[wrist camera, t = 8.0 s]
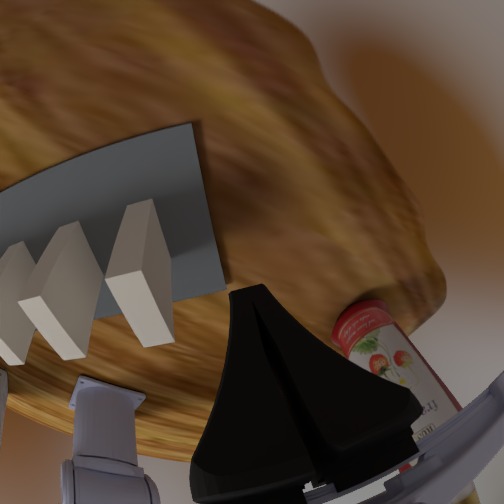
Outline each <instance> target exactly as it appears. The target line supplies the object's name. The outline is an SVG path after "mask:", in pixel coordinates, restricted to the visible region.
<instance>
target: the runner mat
mask: <svg viewBox="0 0 504 504" xmlns="http://www.w3.org/2000/svg"><path fill="white" fill-rule="evenodd" d="M148 199H153V203H154V206H155V210H156V213H157V216H158V220H159V223H160V226H161V229H162V233H163V236H164V239H165V242H166V245H167V248H168V251H169V254H170V257H171V282H172V302H176V301H181V300H185V299H189V298H193V297H197V296H202V295H206V294H210V293H214V292H218V291H222V290H226V289H227V288H226V284H225V280H224V275H223V271H222V267H221V263H220V258H219V254H218V249H217V245H216V241H215V236H214V232H213V227H212V223H211V218H210V213H209V209H208V204H207V199H206V195H205V190H204V185H203V180H202V175H201V170H200V165H199V160H198V155H197V150H196V145H195V140H194V134H193V129H192V124H191V122H190V123H185V124H181V125H177V126H172V127H168V128H164V129H160V130H157V131H153V132H149V133H146V134H142V135H139V136H135V137H132V138H129V139H125V140H122V141H119V142H116V143H113V144H110V145H107V146H104V147H101V148H98V149H95V150H93V151H90V152H87V153H85V154H82V155H79V156H77V157H74V158H72V159H69V160H67V161H64V162H62V163H59V164H57V165H55V166H52V167H50V168H48V169H46V170H43V171H41V172H39V173H37V174H35V175H33V176H30V177H28V178H26V179H24V180H22V181H20V182H18V183H16V184H14V185H12V186H11V187H9V188H7V189H5V190H3V191H1V192H0V259H1V257H2V256H3V254H4V253H5V252H6V250H7V249H8V247H9V246H11V245H14V244H16V243H19V242H21V241H24V243H25V245H26V247H27V249H28V251H29V253H30V255H31V256H32V258H33V260H34V262H35V264H37V263H38V261H39V259H40V257H41V256H42V254H43V252H44V251H45V249H46V247H47V246H48V244H49V242H50V241H51V239H52V237H53V236H54V234H55V233H56V231H57V230H58V228H59V227H61V226H64V225H67V224H70V223H73V222H76V221H79V223H80V225H81V228H82V230H83V232H84V235H85V237H86V239H87V241H88V244H89V246H90V248H91V250H92V252H93V254H94V256H95V259H96V261H97V263H98V265H99V267H100V269H101V271H102V273H103V275H104V277H103V280H102V284H101V288H100V292H99V296H98V300H97V305H96V309H95V314H94V318H93V320H94V319H99V318H104V317H108V316H113V315H118V314H123V312H122V310H121V309H120V307H119V305H118V303H117V302H116V300H115V298H114V296H113V294H112V292H111V290H110V289H109V287H108V285H107V283H106V281H105V276H106V272H107V268H108V264H109V261H110V257H111V254H112V250H113V247H114V244H115V241H116V237H117V234H118V231H119V228H120V225H121V222H122V219H123V216H124V213H125V210H126V208H127V205H130V204H134V203H137V202H141V201H145V200H148ZM37 330H38V329H37V328H35V331H37Z"/></svg>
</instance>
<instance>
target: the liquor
mask: <svg viewBox="0 0 504 504" xmlns="http://www.w3.org/2000/svg"><path fill="white" fill-rule="evenodd" d="M331 339H332V342H333V343H334V344H335V345H337V346H339V347H341V349H342V351H343V353H344V354H345V356H346V358H347V359H348V360H350V361H352V362H353V363H355V364H357V365H359V366H360V367H362V368H364V369H366V370H368V371H370V372H372V373H374V374H376V375H378V376H380V377H382V378H384V379H387V380H389V381H391V382H394V383H396V384H399V385H401V386H404V387H407V388H409V389H410V390H411V392H412V393H413V394H414V395H415V396H416V398H417V399H418V400H419V402H420V404H421V405H422V407H423V409H424V410H423V413H422V415H421V416H420V417H419V418H418V419H417V420H416V421H415V422H414V423H413V424H412V425H411V428H412V430H413V431H414V434H413V435H412V437H413V439H414V441H415V442H416V441H418V440H419V439H421V438H423V437H424V436H426V435H427V434H429V433H430V432H432V431H433V430H435V429H436V428H438V427H439V426H440V425H442V424H443V423H445V422H446V421H447V420H449V419H450V418H452V417H453V416H454V415H455V414H457V413H458V412H459V411H461V410H462V409H463V408H462V407H461V406H460V404H459V403H458V401H457V400H456V398H455V397H454V396H453V394H452V393H451V392H450V391H449V389H448V388H447V387H446V385H445V384H444V383H443V382H442V380H441V379H440V378H439V376H438V375H437V374H436V373H435V371H434V370H433V369H432V368H431V367H430V365H429V364H428V363H427V362H426V360H425V359H424V357H423V356H422V355H421V354H420V352H419V351H418V350H417V349H416V347H415V346H414V345H413V343H412V342H411V341H410V340H409V338H408V337H407V336H406V335H405V333H404V332H403V331H402V329H401V328H400V327H399V326H398V324H397V323H396V322H395V321H394V319H393V318H392V317H391V316H390V314H389V313H388V305H387V303H386V302H385V301H383V300H379V299H376V300H364V301H359V302H356V303H354V304H352V305H351V306H349V307H348V308H346V309H345V310H344V311H343V312H342V313H341V315H340V316H339V318H338V319H337V322H336V324H335V327H334V329H333V332H332V336H331ZM418 458H419V457H418ZM418 458H416V459H414V460H413V461H411V462H409V463H408V464H406V465H404V466H403V467H401V468H399V472H400V473H401V472H403V471H405V470H407V469H409V468H410V467H412V466H414V465H416V464H417V461H418ZM450 503H451V504H480V501H479V498H478V494H477V491H476V489H475V485H474V482H473V481H472V482H471V483H470V484H469V485H468V486H467V487H466V488H465V489H464V490H463V491H462V492H461V493H460V494H459V495H458V496H457V497H456V498H454V499H453V500H452V501H451V502H450Z"/></svg>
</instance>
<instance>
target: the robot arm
mask: <svg viewBox="0 0 504 504" xmlns="http://www.w3.org/2000/svg"><path fill="white" fill-rule="evenodd" d="M228 295H229V300H230V327H229V339H228V346H227V352H226V359H225V364H224V369H223V373H222V377H221V382H220V385H219V389H218V392H217V396H216V399H215V402H214V405H213V408H212V411H211V414H210V417H209V419H208V422H207V425H206V427H205V430H204V432H203V435H202V437H201V439H200V441H199V443H198V446H197V448H196V450H195V452H194V454H193V456H192V459H191V466H190V477H189V480H190V489H191V494H192V498H193V501H194V502H196V503H199V504H322V503H325V502H328V501H330V500H333V499H335V498H338V497H341V496H343V495H345V494H348V493H350V492H353V491H355V490H357V489H360V488H362V487H364V486H366V485H368V484H370V483H372V482H374V481H376V480H378V479H380V478H382V477H384V476H386V475H388V474H390V473H392V472H394V471H396V470H397V469H399V468H401V467H403V466H404V465H406V464H408V463H409V462H411V461H413V460H414V459H416V458H418V457H419V458H418V461H417V464H416V465H414V466H412V467H410V468H409V469H407V470H405V471H403V472H401V473H400V474H398V475H396V476H395V477H393V478H391V479H389V480H387V481H386V482H384V486H385V488H386V491H384V492H382V493H380V494H378V495H376V496H373V497H371V498H369V499H367V500H365V501H362V502H360V503H358V504H451V503H450V502H451V501H452V500H453V499H454V498H456V497H457V496H458V495H459V494H460V493H461V492H462V491H463V490H464V489H465V488H466V487H467V486H468V485H469V484H470V483H471V482H472V481H473V480H474V479H475V478H476V477H477V476H478V475H479V473H480V472H481V471H482V470H483V469H484V468H485V467H486V465H487V464H488V463H489V462H490V461H491V460H492V459H493V457H494V456H495V455H496V454H497V453H498V451H499V450H500V449H501V448H502V446H503V445H504V371H503V372H502V373H501V374H500V375H499V376H498V377H497V378H496V379H495V380H494V381H493V382H492V383H491V384H490V385H489V387H488V388H487V389H486V390H485V391H483V392H482V393H481V394H480V395H479V396H478V397H477V398H475V399H474V400H473V401H472V402H471V403H469V404H468V405H467V406H466V407H465V408H463V409H462V410H461V411H459V412H458V413H457V414H455V415H454V416H453V417H452V418H450V419H449V420H447V421H446V422H445V423H443V424H442V425H440V426H439V427H438V428H436V429H435V430H433V431H432V432H430V433H429V434H427V435H426V436H424V437H423V438H421V439H419V440H418V441H416V442H415V441H414V439H413V437H412V435H413V434H414V431H413V430H412V428H411V425H412V424H413V423H414V422H415V421H416V420H417V419H418V418H419V417H420V416H421V415H422V413H423V410H424V409H423V407H422V405H421V404H420V402H419V400H418V399H417V398H416V396H415V395H414V394H413V393H412V392H411V390H410V389H409V388H407V387H404V386H401V385H399V384H396V383H394V382H391V381H389V380H387V379H384V378H382V377H380V376H378V375H376V374H374V373H372V372H370V371H368V370H366V369H364V368H362V367H360V366H359V365H357V364H355V363H353V362H352V361H350V360H348V359H346V358H345V357H343V356H342V355H340V354H339V353H337V352H336V351H334V350H333V349H331V348H330V347H328V346H327V345H326V344H324V343H323V342H322V341H320V340H319V339H318V338H316V337H315V336H314V335H313V334H312V333H310V332H309V331H308V330H307V329H306V328H304V327H303V326H302V325H301V324H300V323H299V322H298V321H297V320H296V319H295V318H294V317H293V316H292V315H291V314H290V313H289V312H288V311H287V310H286V309H285V308H284V307H283V306H282V305H281V304H280V303H279V302H278V301H277V300H276V299H275V297H274V296H273V295H272V294H271V293H270V291H269V290H268V289H267V287H266V286H265V285H264V284H258V285H254V286H250V287H246V288H242V289H238V290H234V291H231V292H230V293H229V294H228ZM279 389H280V390H279ZM281 394H282V395H281ZM145 399H146V395H145V394H143V393H139V392H136V391H132V390H128V389H124V388H121V387H117V386H114V385H110V384H107V383H104V382H101V381H98V380H95V379H92V378H89V377H86V376H79V378H78V380H77V383H76V386H75V388H74V391H73V394H72V397H71V399H70V402H69V408H71V409H74V410H75V417H74V433H73V458H72V460H67V459H66V460H65V461H64V462H63V463H62V464H61V498H62V504H160V497H159V492H158V489H157V486H156V484H155V483H154V482H153V480H152V479H151V478H150V477H149V476H148V475H146V474H144V470H143V468H141V467H138V461H137V449H136V435H135V414H134V411H135V410H136V409H137V407H138V406H139V405H140V404H141V403H142V402H143V401H144V400H145ZM310 481H311V483H312V486H313V488H316V487H319V486H322V485H324V484H326V486H323V487H320V488H317V489H315V490H311V491H308V492H305V493H303V490H302V489H305V486H304V485H305V484H306V483H309V482H310Z"/></svg>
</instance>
